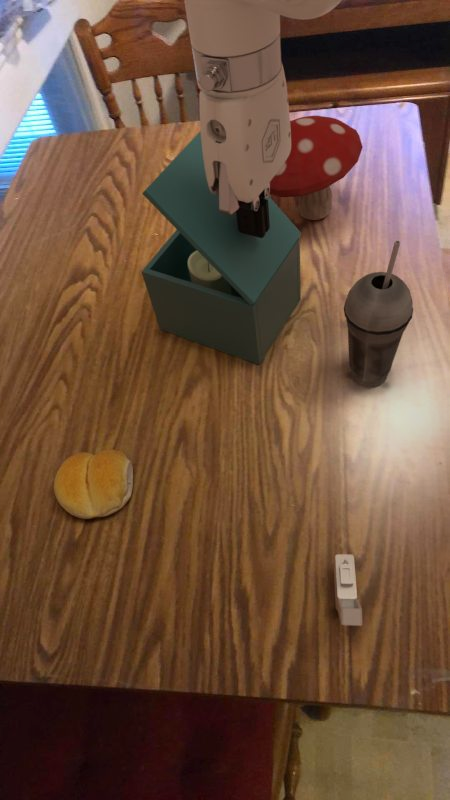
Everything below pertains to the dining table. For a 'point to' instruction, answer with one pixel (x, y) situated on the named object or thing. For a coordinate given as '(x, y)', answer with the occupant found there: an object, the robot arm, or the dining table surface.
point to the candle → (206, 274)
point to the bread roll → (94, 483)
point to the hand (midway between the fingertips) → (254, 230)
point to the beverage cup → (376, 323)
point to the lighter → (346, 590)
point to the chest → (220, 303)
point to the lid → (220, 225)
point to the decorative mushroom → (316, 163)
